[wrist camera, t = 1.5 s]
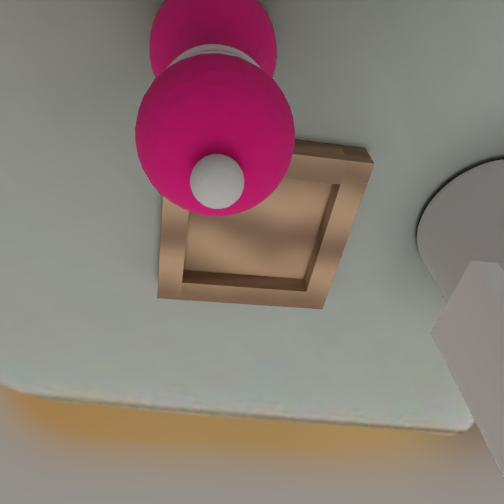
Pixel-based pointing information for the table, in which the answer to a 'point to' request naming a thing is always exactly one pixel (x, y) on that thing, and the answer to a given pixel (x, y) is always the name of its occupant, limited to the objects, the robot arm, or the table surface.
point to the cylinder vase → (464, 225)
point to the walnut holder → (269, 236)
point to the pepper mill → (214, 107)
